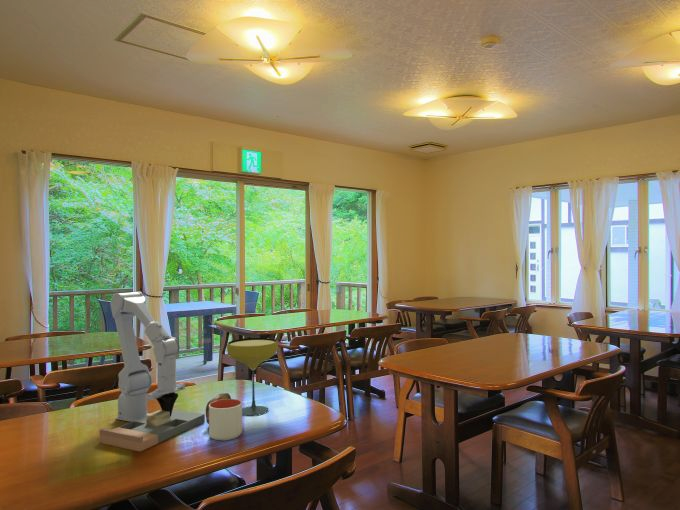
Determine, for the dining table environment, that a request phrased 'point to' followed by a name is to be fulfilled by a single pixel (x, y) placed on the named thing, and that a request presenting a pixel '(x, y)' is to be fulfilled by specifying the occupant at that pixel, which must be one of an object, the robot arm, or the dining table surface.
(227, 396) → the tin
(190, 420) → the board
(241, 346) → the cocktail glass
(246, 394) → the dining table surface
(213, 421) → the cup
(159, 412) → the beech block
